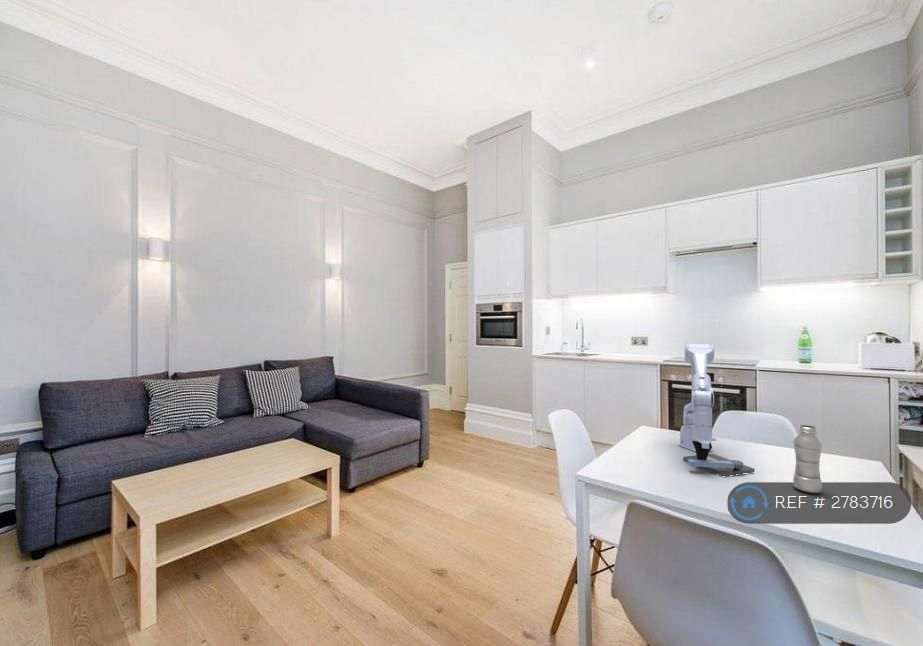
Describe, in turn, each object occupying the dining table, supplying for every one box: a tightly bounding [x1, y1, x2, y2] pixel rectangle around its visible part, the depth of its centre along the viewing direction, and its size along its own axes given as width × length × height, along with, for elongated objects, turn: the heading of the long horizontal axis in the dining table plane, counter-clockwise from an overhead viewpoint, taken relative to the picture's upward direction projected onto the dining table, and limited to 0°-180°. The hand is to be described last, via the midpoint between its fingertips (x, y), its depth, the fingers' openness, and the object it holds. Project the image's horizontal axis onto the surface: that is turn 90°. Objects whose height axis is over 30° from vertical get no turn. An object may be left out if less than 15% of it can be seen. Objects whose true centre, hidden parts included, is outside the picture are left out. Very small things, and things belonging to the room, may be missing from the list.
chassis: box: [682, 452, 755, 477], centre depth 137 cm, size 16×14×2 cm
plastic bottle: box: [792, 424, 823, 494], centre depth 117 cm, size 6×7×20 cm
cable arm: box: [687, 459, 744, 469], centre depth 130 cm, size 17×4×2 cm, turn 86°
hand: (701, 463), depth 133 cm, fingers closed
